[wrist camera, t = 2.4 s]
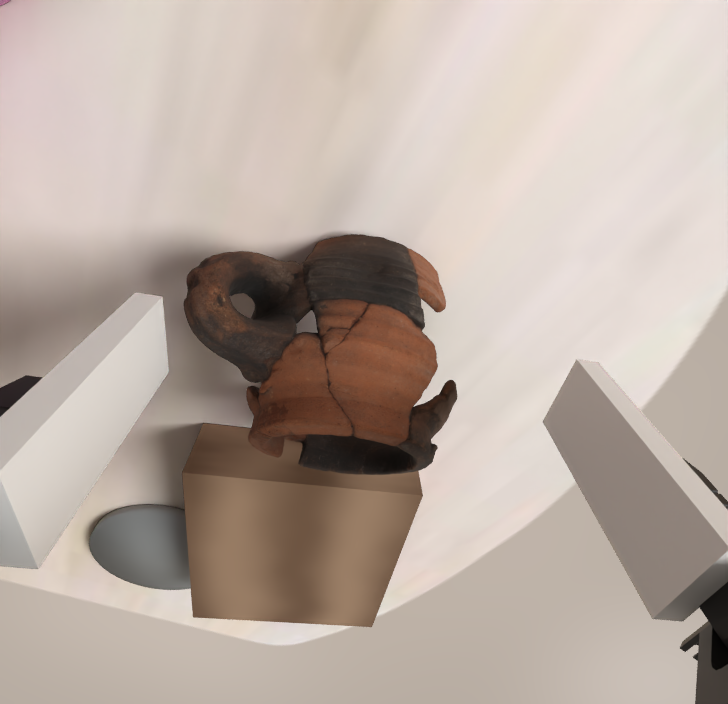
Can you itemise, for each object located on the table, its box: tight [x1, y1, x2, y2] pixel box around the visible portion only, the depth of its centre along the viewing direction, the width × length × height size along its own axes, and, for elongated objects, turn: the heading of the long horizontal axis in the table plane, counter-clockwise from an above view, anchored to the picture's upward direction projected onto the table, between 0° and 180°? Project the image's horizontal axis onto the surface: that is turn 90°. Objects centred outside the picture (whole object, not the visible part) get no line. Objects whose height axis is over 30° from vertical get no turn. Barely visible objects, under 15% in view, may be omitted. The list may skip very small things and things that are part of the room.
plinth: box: [182, 423, 423, 627], centre depth 26 cm, size 12×14×4 cm
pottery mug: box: [184, 234, 457, 475], centre depth 18 cm, size 12×9×8 cm
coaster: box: [89, 505, 191, 590], centre depth 29 cm, size 9×9×1 cm
